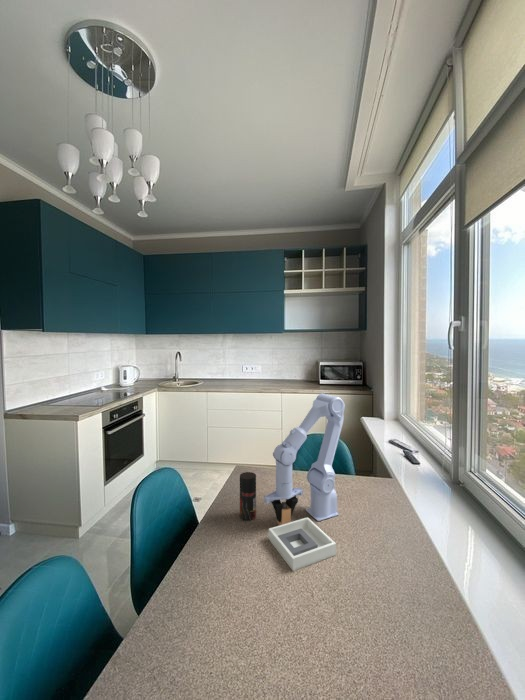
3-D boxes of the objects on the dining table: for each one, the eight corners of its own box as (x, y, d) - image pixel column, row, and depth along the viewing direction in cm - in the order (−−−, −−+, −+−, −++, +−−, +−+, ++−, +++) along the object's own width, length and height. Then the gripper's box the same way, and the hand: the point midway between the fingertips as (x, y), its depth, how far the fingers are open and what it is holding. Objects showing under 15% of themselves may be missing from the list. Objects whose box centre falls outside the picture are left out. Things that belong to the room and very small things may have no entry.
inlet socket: (301, 534, 99) (301, 528, 98) (317, 551, 90) (317, 544, 90) (277, 542, 95) (277, 535, 95) (292, 560, 87) (292, 553, 86)
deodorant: (253, 521, 106) (253, 479, 106) (237, 519, 108) (237, 478, 107) (257, 512, 112) (257, 472, 112) (242, 510, 113) (242, 471, 113)
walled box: (307, 527, 103) (307, 517, 103) (336, 554, 90) (336, 543, 90) (268, 539, 97) (268, 528, 97) (292, 571, 83) (293, 558, 83)
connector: (285, 520, 107) (285, 499, 107) (290, 525, 104) (290, 504, 104) (277, 522, 106) (277, 501, 106) (282, 528, 103) (282, 506, 102)
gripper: (295, 472, 111) (295, 508, 112) (260, 479, 105) (260, 517, 105) (306, 479, 105) (306, 518, 105) (269, 488, 99) (269, 529, 99)
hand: (284, 518), depth 105 cm, fingers closed on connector, 3 cm apart
